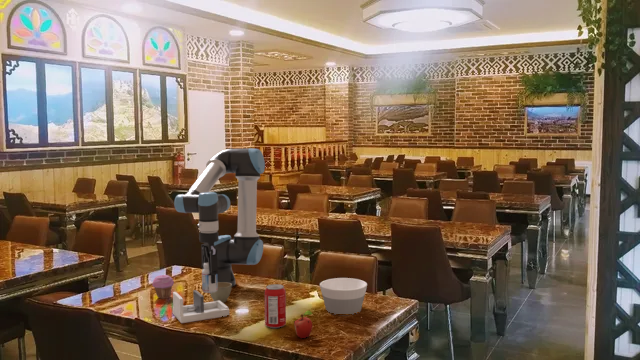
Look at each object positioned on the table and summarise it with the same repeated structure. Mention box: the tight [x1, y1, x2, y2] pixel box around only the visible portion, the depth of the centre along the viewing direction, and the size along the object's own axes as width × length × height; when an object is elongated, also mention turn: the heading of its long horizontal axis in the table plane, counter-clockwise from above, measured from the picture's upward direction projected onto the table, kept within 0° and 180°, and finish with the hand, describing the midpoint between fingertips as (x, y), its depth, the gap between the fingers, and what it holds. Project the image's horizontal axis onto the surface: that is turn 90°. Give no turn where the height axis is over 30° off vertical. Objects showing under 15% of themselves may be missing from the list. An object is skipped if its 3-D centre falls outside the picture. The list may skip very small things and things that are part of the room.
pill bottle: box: [201, 262, 218, 294], centre depth 229 cm, size 6×6×11 cm
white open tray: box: [172, 291, 230, 324], centre depth 228 cm, size 19×13×9 cm
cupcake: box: [152, 274, 175, 299], centre depth 253 cm, size 9×9×10 cm
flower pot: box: [209, 282, 233, 303], centre depth 246 cm, size 10×10×7 cm
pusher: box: [187, 289, 205, 313], centre depth 227 cm, size 5×10×8 cm, turn 28°
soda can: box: [263, 284, 287, 329], centre depth 213 cm, size 8×8×15 cm
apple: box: [293, 310, 313, 339], centre depth 201 cm, size 8×7×10 cm
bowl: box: [319, 277, 368, 315], centre depth 233 cm, size 19×19×11 cm
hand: (209, 289), depth 229 cm, fingers closed on pill bottle, 6 cm apart
